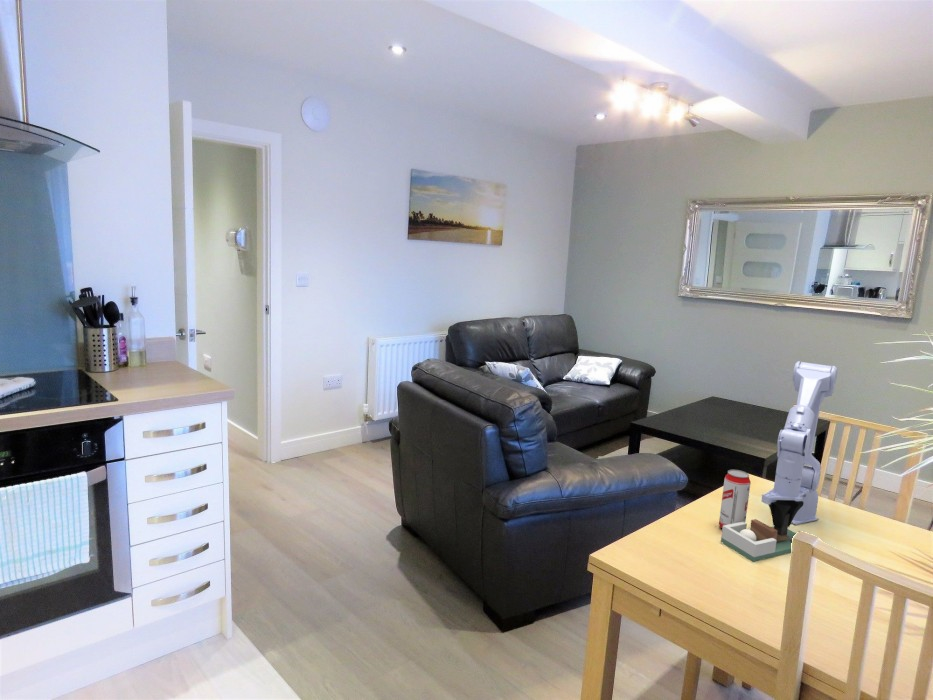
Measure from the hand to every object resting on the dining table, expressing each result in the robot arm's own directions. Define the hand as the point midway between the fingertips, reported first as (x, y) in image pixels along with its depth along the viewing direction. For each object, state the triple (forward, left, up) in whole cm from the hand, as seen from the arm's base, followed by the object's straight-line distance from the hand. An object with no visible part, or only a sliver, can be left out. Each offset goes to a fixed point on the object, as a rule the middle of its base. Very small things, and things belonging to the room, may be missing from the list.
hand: (781, 525), depth 147 cm
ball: (+12, 0, -1) cm, 12 cm away
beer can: (+7, -9, -5) cm, 12 cm away
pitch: (+4, 0, -4) cm, 6 cm away
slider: (+3, 0, -3) cm, 4 cm away
